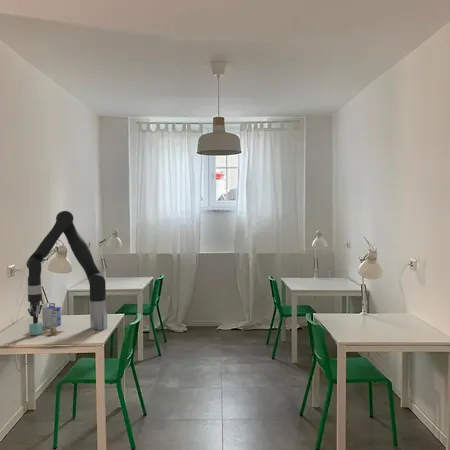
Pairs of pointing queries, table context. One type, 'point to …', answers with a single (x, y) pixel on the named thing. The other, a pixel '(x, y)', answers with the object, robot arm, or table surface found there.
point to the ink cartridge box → (51, 316)
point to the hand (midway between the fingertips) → (35, 322)
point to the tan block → (53, 331)
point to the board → (44, 333)
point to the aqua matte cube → (35, 328)
